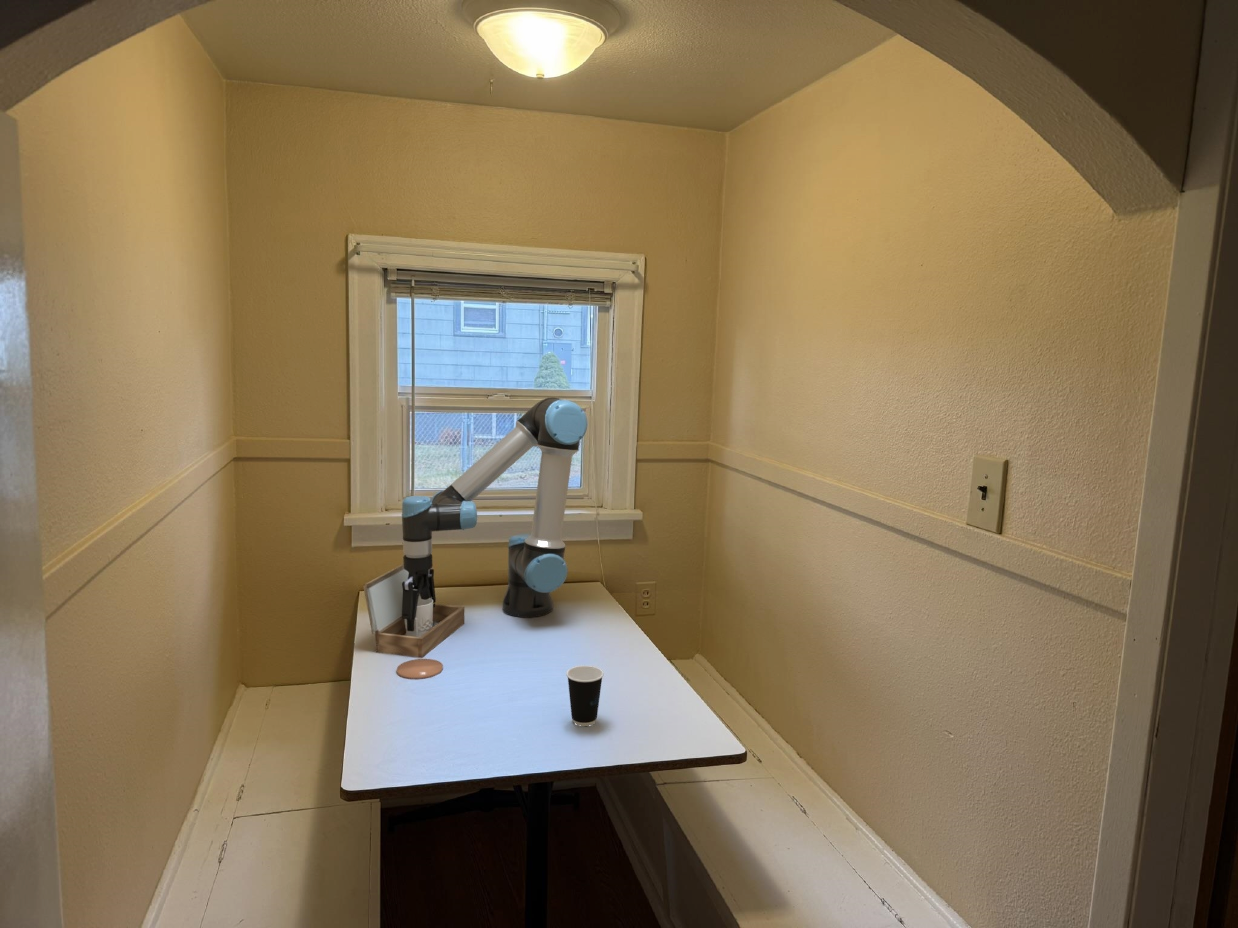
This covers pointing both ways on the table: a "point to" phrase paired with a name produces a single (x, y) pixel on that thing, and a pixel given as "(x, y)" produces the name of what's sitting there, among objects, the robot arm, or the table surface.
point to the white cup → (423, 616)
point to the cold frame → (399, 644)
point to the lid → (385, 597)
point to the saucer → (419, 668)
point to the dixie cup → (584, 693)
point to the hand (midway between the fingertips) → (420, 635)
